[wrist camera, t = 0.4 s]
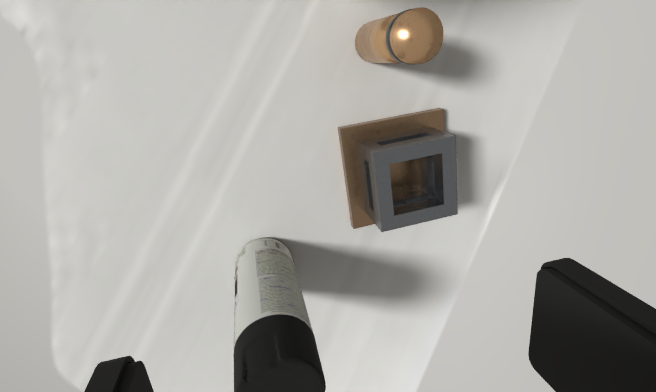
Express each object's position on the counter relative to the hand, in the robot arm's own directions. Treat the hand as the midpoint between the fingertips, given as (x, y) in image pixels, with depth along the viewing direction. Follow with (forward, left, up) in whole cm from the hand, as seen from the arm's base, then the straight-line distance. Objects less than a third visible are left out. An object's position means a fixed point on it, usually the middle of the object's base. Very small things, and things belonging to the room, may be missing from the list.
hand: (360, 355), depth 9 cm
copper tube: (-6, +12, -34) cm, 37 cm away
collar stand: (+8, +13, -34) cm, 37 cm away
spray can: (+16, -4, -34) cm, 38 cm away
